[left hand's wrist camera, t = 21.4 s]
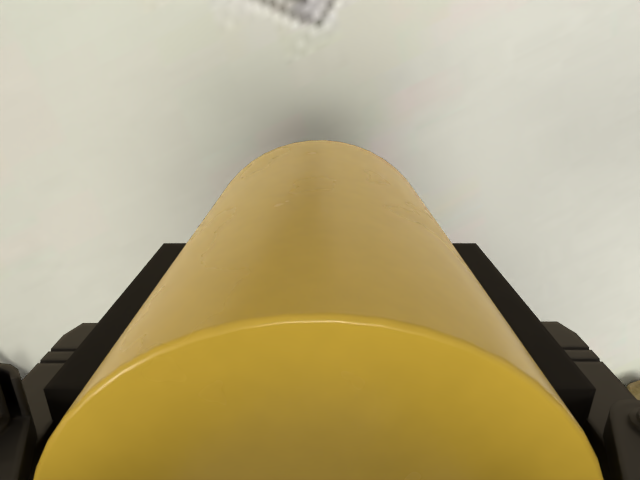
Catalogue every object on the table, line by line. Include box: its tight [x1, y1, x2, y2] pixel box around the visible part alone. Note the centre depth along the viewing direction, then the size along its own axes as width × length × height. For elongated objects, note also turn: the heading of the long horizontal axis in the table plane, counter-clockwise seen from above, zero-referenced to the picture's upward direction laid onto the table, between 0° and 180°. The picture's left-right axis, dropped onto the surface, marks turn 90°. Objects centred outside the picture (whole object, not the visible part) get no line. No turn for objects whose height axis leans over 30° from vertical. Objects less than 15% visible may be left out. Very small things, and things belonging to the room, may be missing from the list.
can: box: [33, 140, 604, 480], centre depth 11 cm, size 8×8×11 cm
